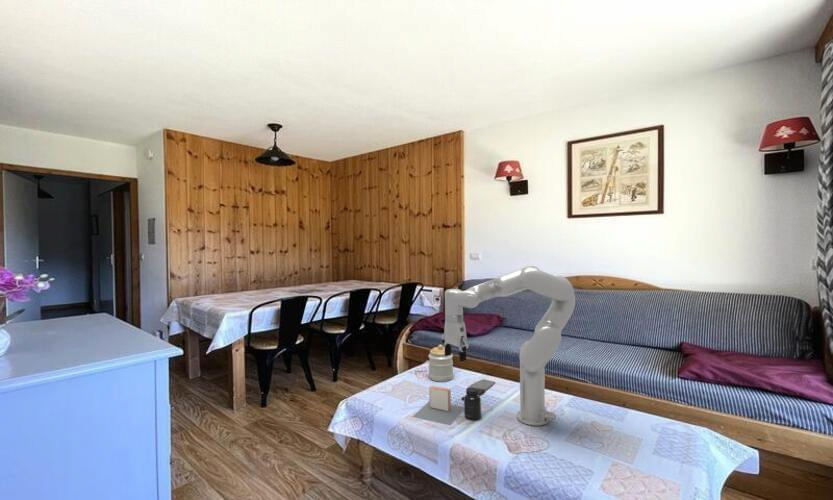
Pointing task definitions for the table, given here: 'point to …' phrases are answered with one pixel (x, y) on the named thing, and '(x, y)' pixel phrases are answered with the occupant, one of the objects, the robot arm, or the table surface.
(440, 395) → the tile
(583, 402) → the table surface
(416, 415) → the slate mat
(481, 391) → the cleaver
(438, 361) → the jar
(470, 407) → the supplement bottle
